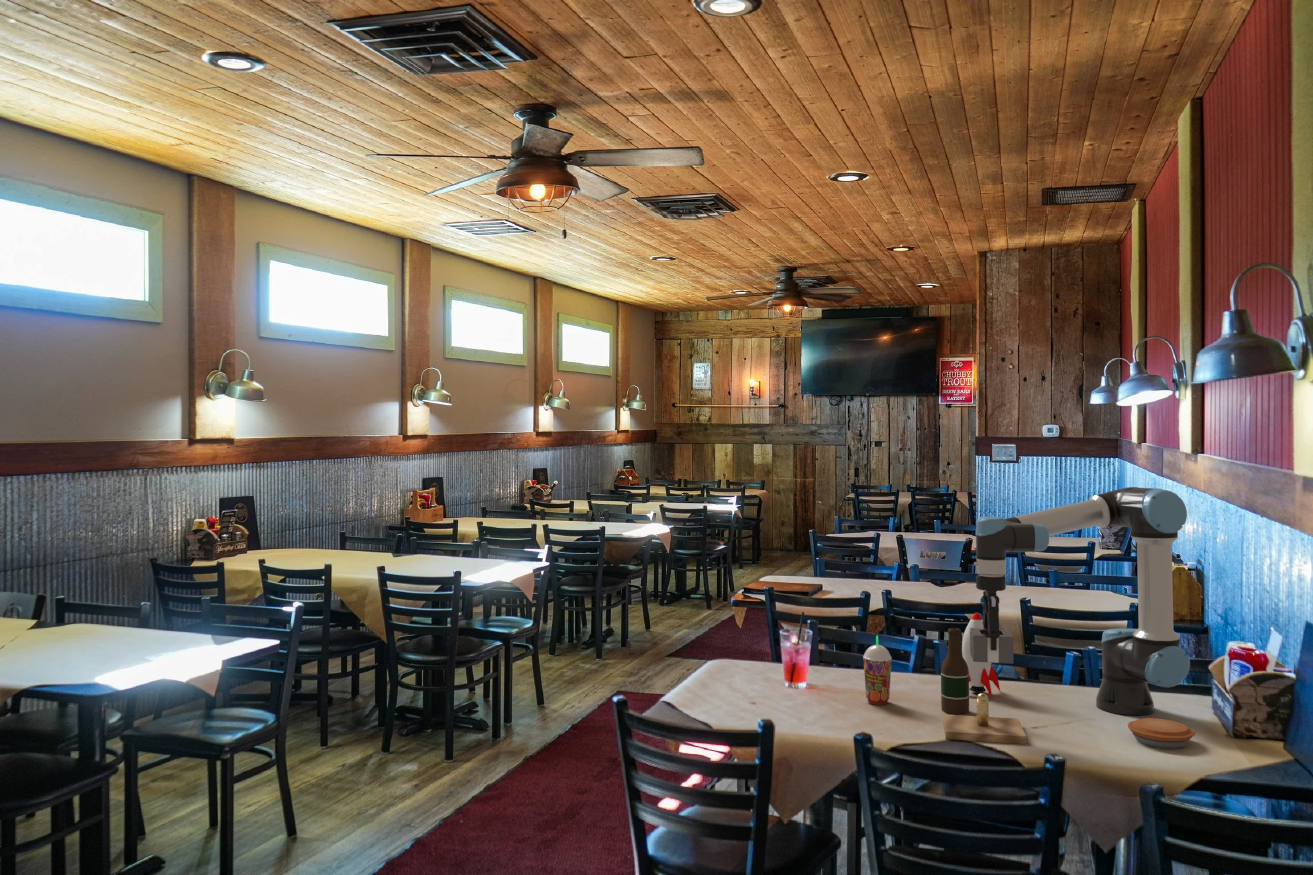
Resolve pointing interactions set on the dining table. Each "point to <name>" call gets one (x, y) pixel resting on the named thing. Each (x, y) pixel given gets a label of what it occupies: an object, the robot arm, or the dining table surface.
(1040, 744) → the dining table surface
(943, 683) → the beer bottle
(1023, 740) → the board
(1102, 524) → the robot arm
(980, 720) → the post
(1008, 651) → the grey square socket block
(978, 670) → the rocket
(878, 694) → the smoothie
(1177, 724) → the pie
